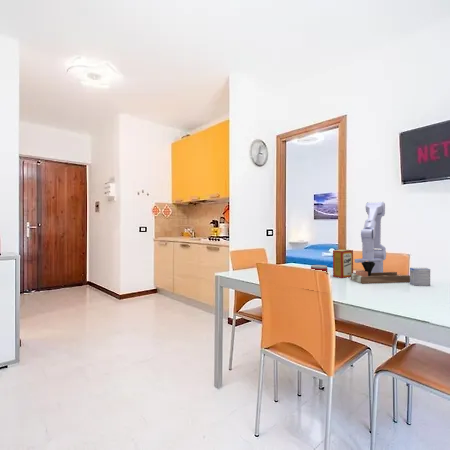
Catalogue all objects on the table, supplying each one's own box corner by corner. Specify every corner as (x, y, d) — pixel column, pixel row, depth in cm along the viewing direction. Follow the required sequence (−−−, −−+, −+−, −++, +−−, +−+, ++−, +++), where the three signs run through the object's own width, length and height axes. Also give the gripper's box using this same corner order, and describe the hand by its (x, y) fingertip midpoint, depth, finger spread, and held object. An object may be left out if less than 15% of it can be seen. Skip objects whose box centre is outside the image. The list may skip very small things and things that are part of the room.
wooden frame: (350, 279, 173) (350, 273, 173) (395, 278, 175) (395, 272, 175) (361, 283, 161) (361, 277, 161) (410, 282, 163) (410, 275, 163)
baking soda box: (342, 278, 177) (341, 250, 177) (333, 276, 182) (332, 249, 182) (353, 276, 181) (353, 249, 181) (344, 275, 187) (343, 248, 187)
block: (355, 277, 169) (355, 270, 169) (363, 276, 170) (363, 270, 170) (360, 278, 165) (360, 272, 165) (368, 278, 165) (368, 271, 165)
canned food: (315, 285, 157) (315, 264, 157) (330, 288, 152) (330, 265, 151) (307, 288, 152) (307, 266, 152) (322, 290, 146) (322, 267, 146)
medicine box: (425, 284, 158) (425, 267, 158) (430, 286, 154) (430, 268, 154) (409, 284, 159) (409, 267, 159) (414, 285, 155) (413, 268, 154)
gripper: (359, 251, 163) (359, 277, 163) (385, 251, 164) (385, 276, 164) (352, 250, 170) (352, 275, 170) (377, 250, 171) (377, 274, 171)
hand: (368, 275), depth 168 cm, fingers closed
